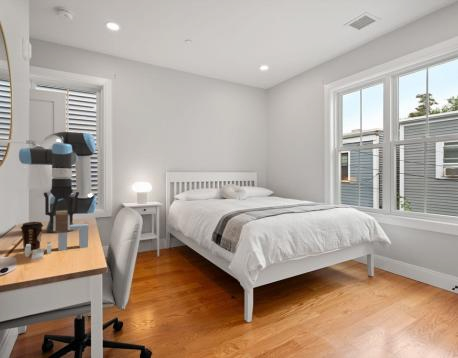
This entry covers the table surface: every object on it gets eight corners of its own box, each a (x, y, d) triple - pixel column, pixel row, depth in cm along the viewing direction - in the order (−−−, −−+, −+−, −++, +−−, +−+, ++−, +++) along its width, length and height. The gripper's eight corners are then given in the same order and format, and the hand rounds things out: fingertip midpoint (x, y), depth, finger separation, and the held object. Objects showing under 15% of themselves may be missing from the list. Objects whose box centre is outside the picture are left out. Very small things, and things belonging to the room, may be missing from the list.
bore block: (58, 248, 128) (58, 225, 128) (87, 244, 135) (87, 223, 135) (58, 250, 124) (58, 227, 123) (88, 247, 131) (88, 225, 131)
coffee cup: (39, 245, 132) (39, 220, 131) (45, 248, 127) (46, 222, 127) (18, 249, 124) (18, 223, 124) (24, 252, 120) (24, 225, 119)
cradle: (26, 252, 120) (26, 244, 120) (51, 249, 125) (51, 241, 125) (23, 260, 109) (23, 251, 109) (50, 257, 114) (50, 248, 114)
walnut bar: (55, 227, 123) (56, 210, 123) (66, 226, 125) (67, 210, 125) (55, 233, 111) (55, 215, 111) (67, 232, 114) (67, 214, 114)
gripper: (37, 178, 106) (36, 233, 107) (85, 178, 116) (84, 229, 117) (37, 177, 112) (37, 230, 113) (83, 178, 123) (83, 226, 123)
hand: (61, 229), depth 115 cm, fingers closed on walnut bar, 5 cm apart
